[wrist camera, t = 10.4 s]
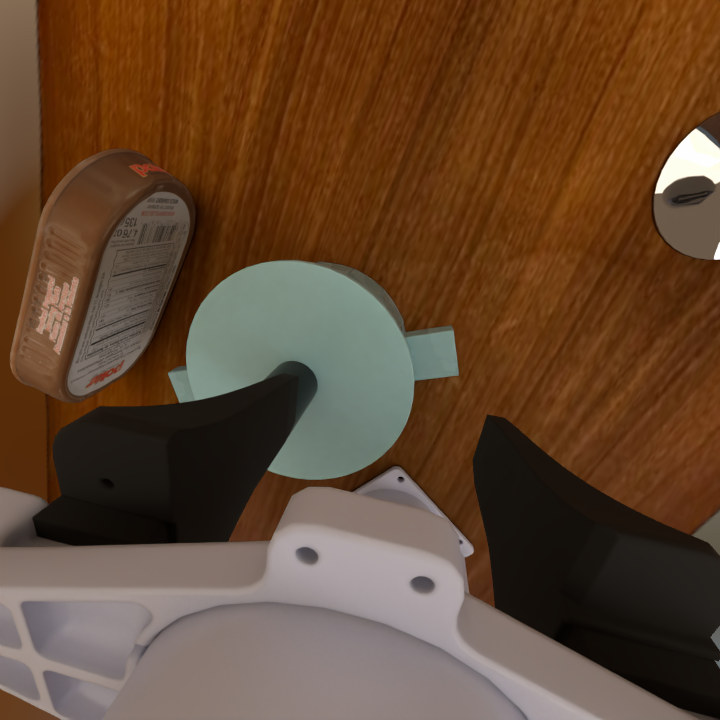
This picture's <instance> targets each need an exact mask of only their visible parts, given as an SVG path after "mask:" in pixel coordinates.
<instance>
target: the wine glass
mask: <svg viewBox="0 0 720 720" xmlns="http://www.w3.org/2000/svg"><path fill="white" fill-rule="evenodd" d="M652 211H653V217H654V222H655V225H656V227H657V230H658V232H659V234H660V235H661V237H662V238H663V239H664V241H665V242H666V243H667V244H668V245H669V246H670V247H672V248H673V249H674V250H676V251H678V252H679V253H681V254H683V255H686V256H689V257H692V258H695V259H703V260H720V112H718V113H717V114H715V115H713V116H712V117H710V118H708V119H707V120H705V121H703V122H702V123H701V124H700V125H698V126H697V127H696V128H694V129H693V130H692V131H691V132H689V133H688V135H687V136H686V137H685V138H684V139H683V140H682V141H681V142H680V143H679V144H678V145H677V146H676V148H675V149H674V150H673V151H672V153H671V154H670V155H669V157H668V158H667V160H666V162H665V164H664V166H663V167H662V169H661V171H660V174H659V176H658V179H657V182H656V184H655V189H654V194H653V206H652Z"/></svg>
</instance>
